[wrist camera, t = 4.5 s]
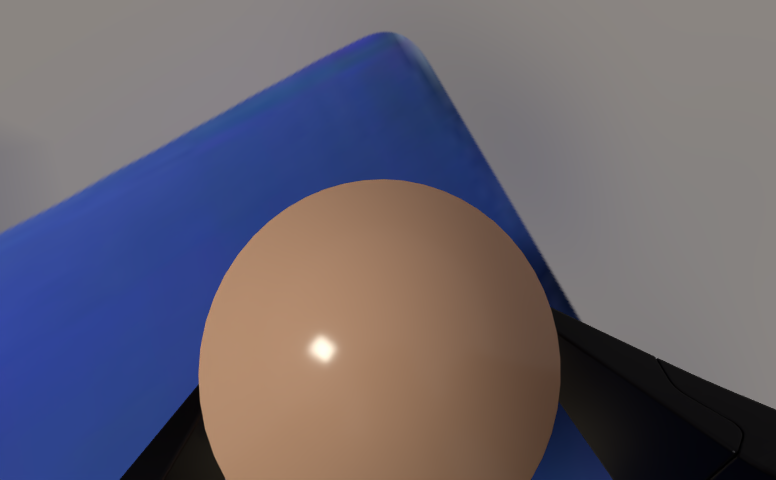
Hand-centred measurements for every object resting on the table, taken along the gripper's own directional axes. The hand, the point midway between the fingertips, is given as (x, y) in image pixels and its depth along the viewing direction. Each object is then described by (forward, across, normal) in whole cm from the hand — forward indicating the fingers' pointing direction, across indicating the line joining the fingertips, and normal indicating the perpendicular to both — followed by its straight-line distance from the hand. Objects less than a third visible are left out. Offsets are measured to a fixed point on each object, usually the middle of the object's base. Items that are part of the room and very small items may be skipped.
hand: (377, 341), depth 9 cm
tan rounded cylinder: (+6, 0, +6) cm, 8 cm away
